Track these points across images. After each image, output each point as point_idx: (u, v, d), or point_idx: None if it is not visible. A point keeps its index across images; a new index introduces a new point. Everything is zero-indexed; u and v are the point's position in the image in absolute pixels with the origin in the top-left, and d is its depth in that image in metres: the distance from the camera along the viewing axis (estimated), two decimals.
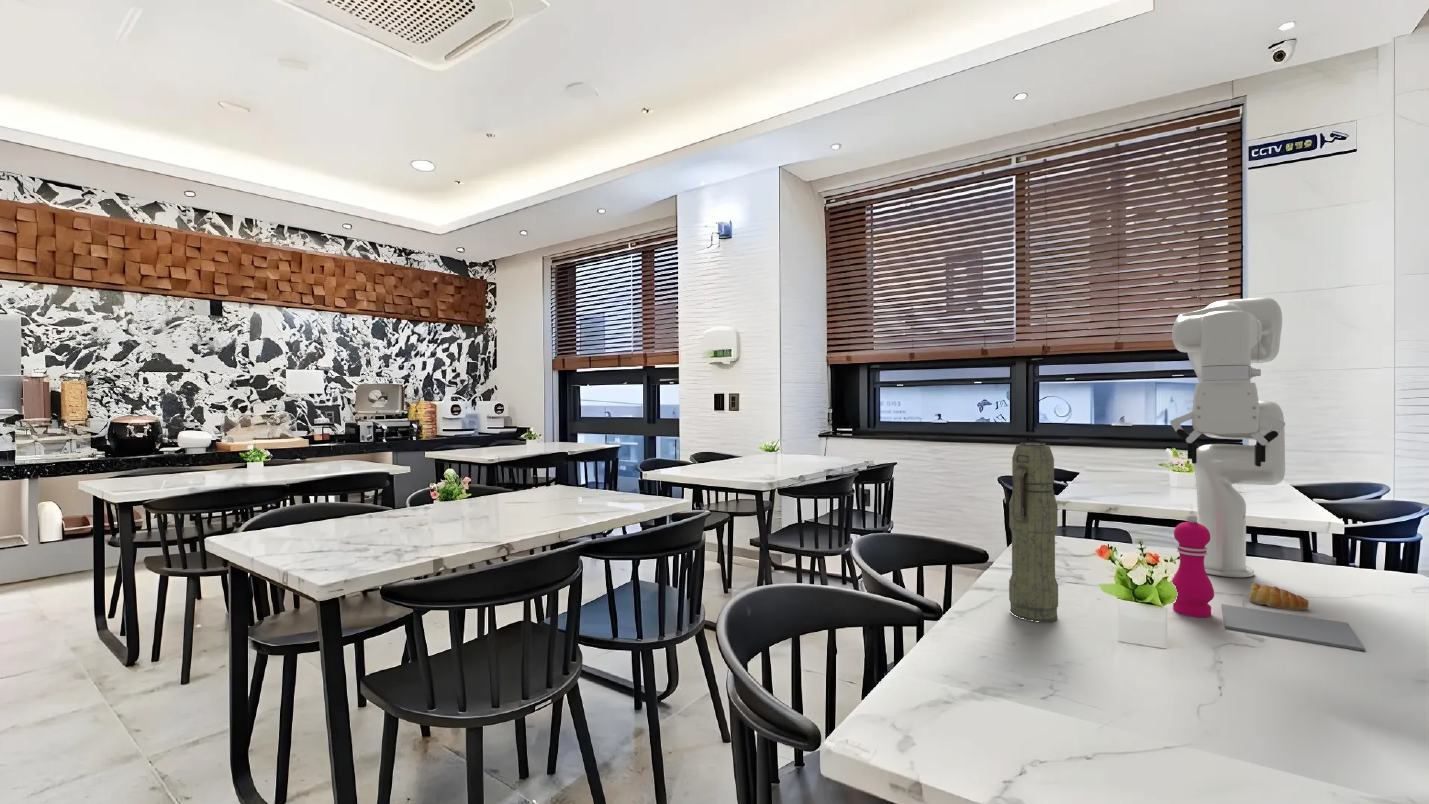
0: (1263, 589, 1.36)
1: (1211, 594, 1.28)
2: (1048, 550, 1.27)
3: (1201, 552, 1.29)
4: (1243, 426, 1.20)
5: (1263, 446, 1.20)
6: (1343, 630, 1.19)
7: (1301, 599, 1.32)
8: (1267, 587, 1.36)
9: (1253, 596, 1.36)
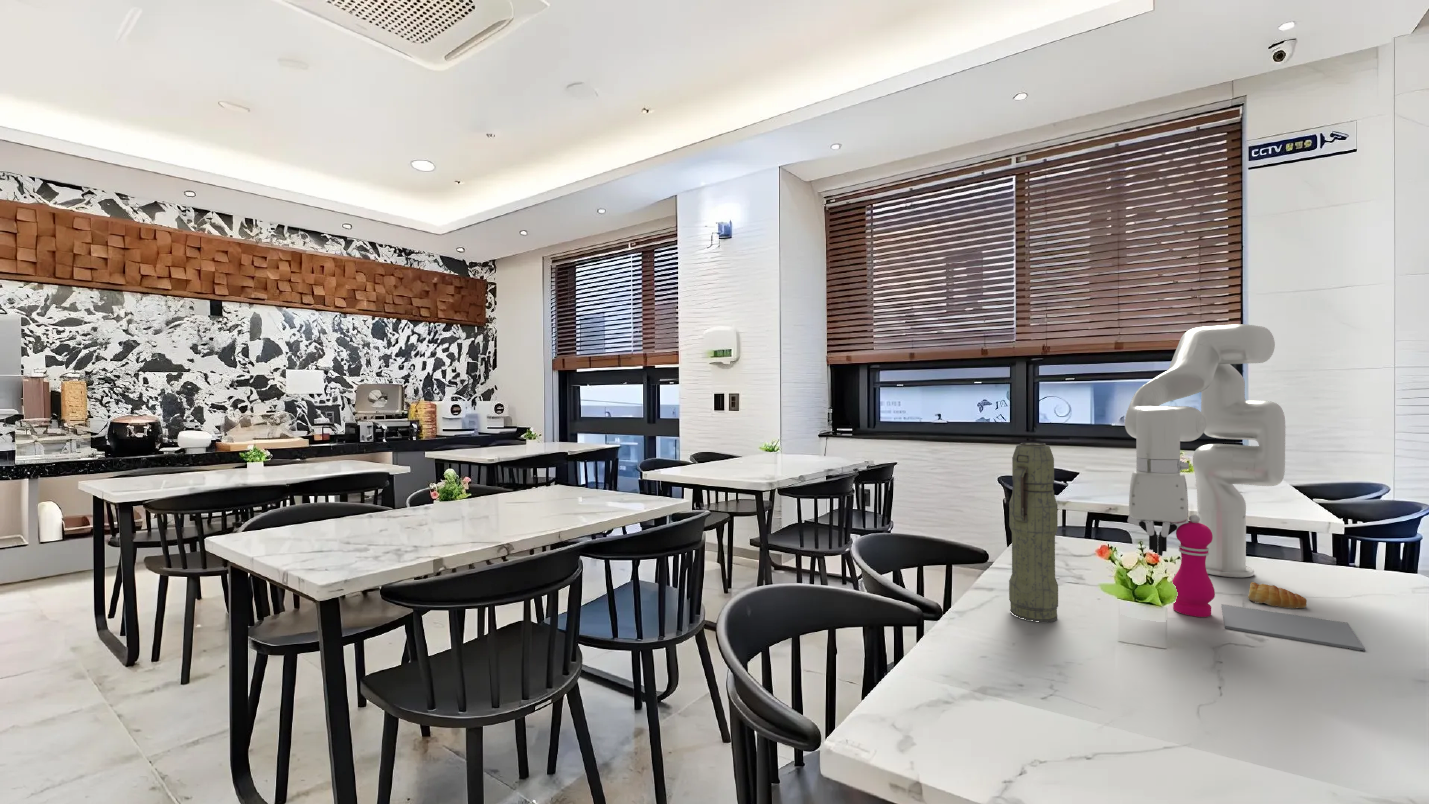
0: (1262, 588, 1.36)
1: (1212, 594, 1.28)
2: (1048, 550, 1.27)
3: (1203, 552, 1.28)
4: (1172, 515, 1.31)
5: (1164, 537, 1.33)
6: (1343, 630, 1.19)
7: (1299, 597, 1.33)
8: (1266, 586, 1.37)
9: (1252, 595, 1.37)
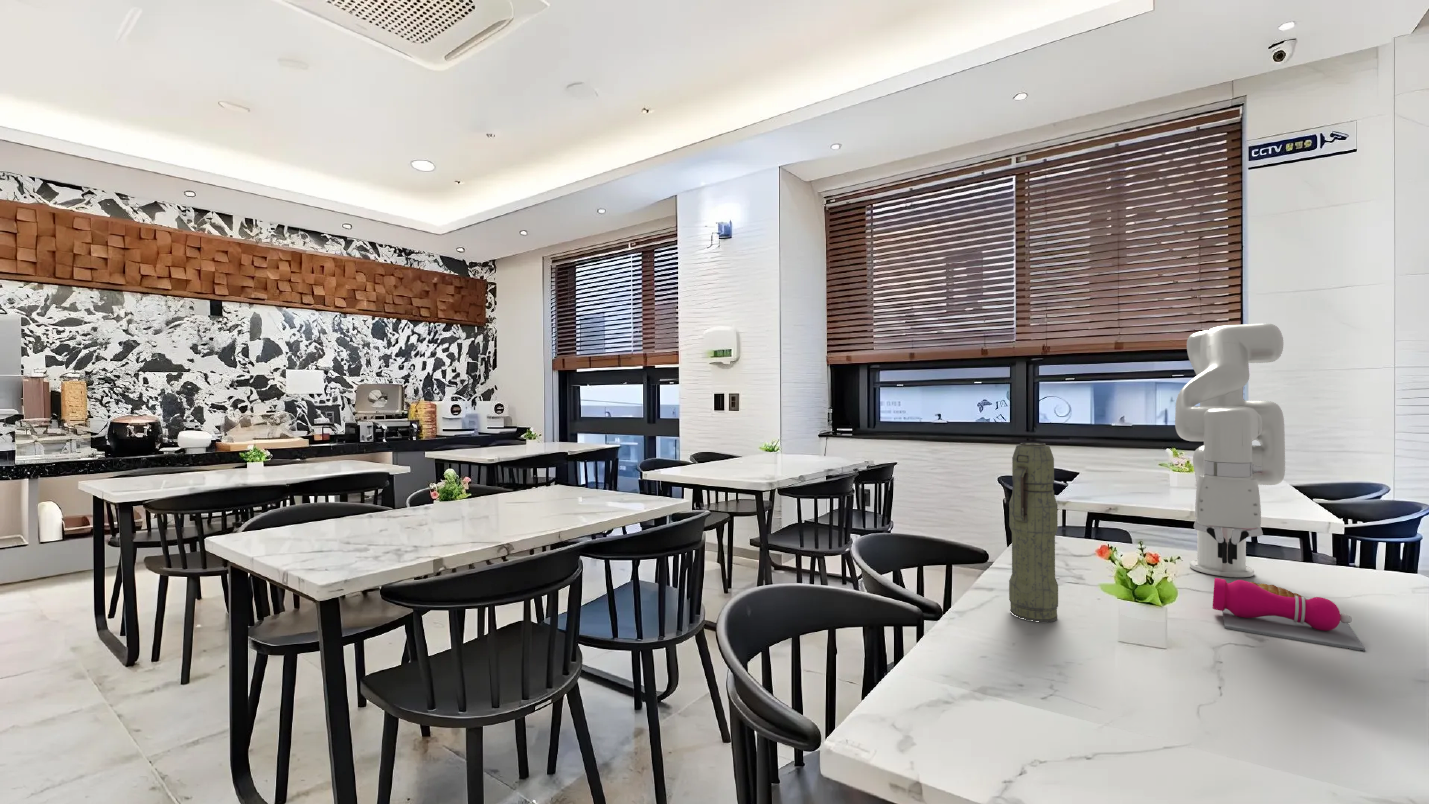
0: (1261, 587, 1.37)
1: (1242, 616, 1.25)
2: (1048, 550, 1.27)
3: (1300, 619, 1.20)
4: (1244, 522, 1.24)
5: (1235, 545, 1.26)
6: (1343, 630, 1.19)
7: None
8: (1265, 585, 1.37)
9: None
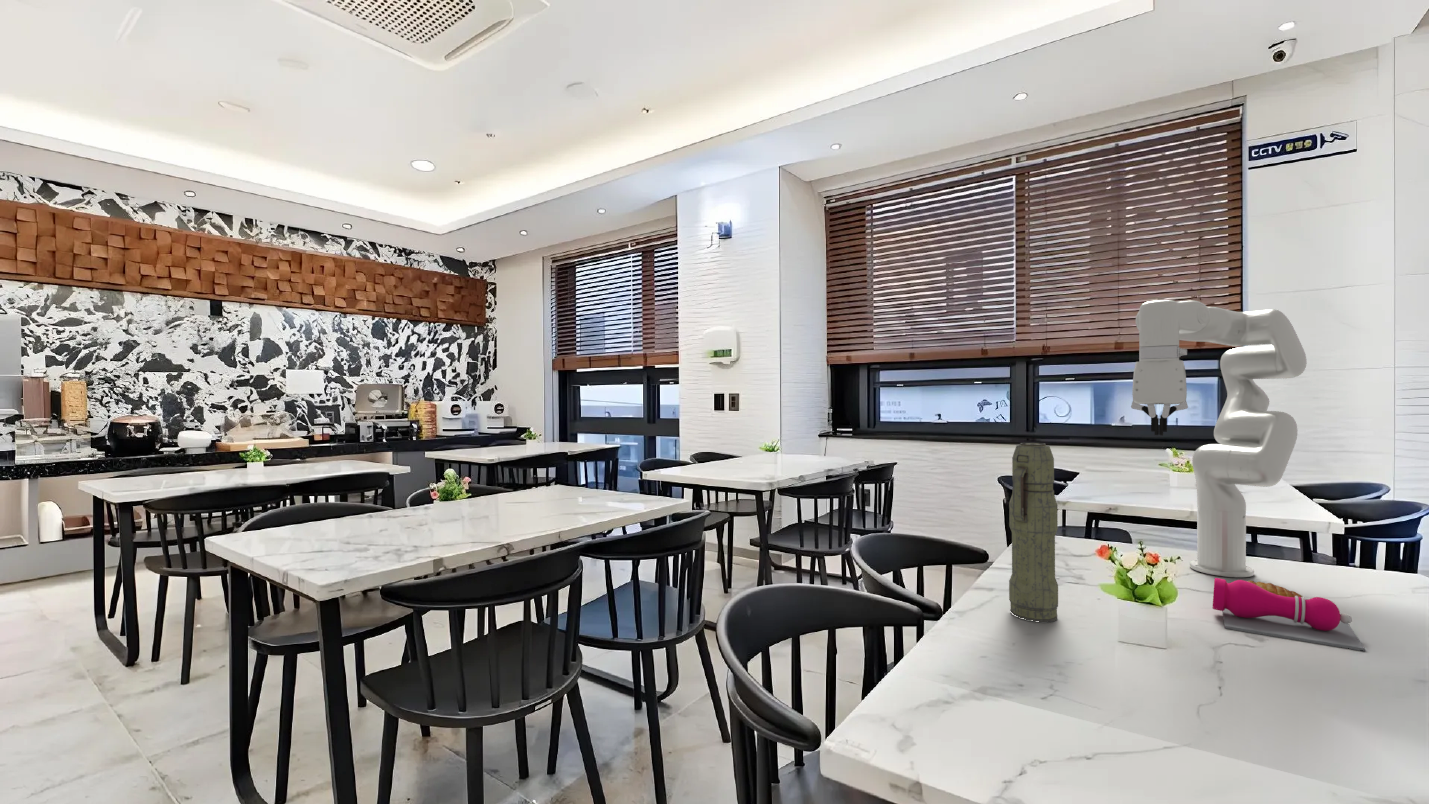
0: (1260, 586, 1.38)
1: (1242, 616, 1.25)
2: (1048, 550, 1.27)
3: (1300, 619, 1.20)
4: (1172, 397, 1.44)
5: (1165, 419, 1.46)
6: (1343, 630, 1.19)
7: (1297, 595, 1.35)
8: (1263, 584, 1.38)
9: None
